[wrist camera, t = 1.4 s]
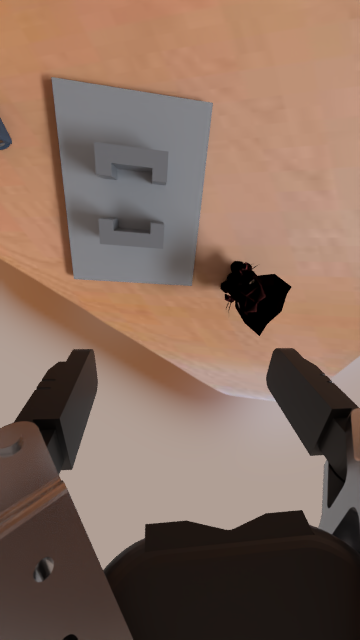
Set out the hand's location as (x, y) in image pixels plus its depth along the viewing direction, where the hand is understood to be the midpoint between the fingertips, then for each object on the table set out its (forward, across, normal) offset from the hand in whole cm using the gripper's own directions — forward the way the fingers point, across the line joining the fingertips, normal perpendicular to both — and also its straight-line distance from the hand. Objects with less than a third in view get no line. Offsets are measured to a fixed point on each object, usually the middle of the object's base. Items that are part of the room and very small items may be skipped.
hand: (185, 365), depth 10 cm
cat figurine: (+24, -11, +3) cm, 27 cm away
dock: (+24, +4, -7) cm, 25 cm away
